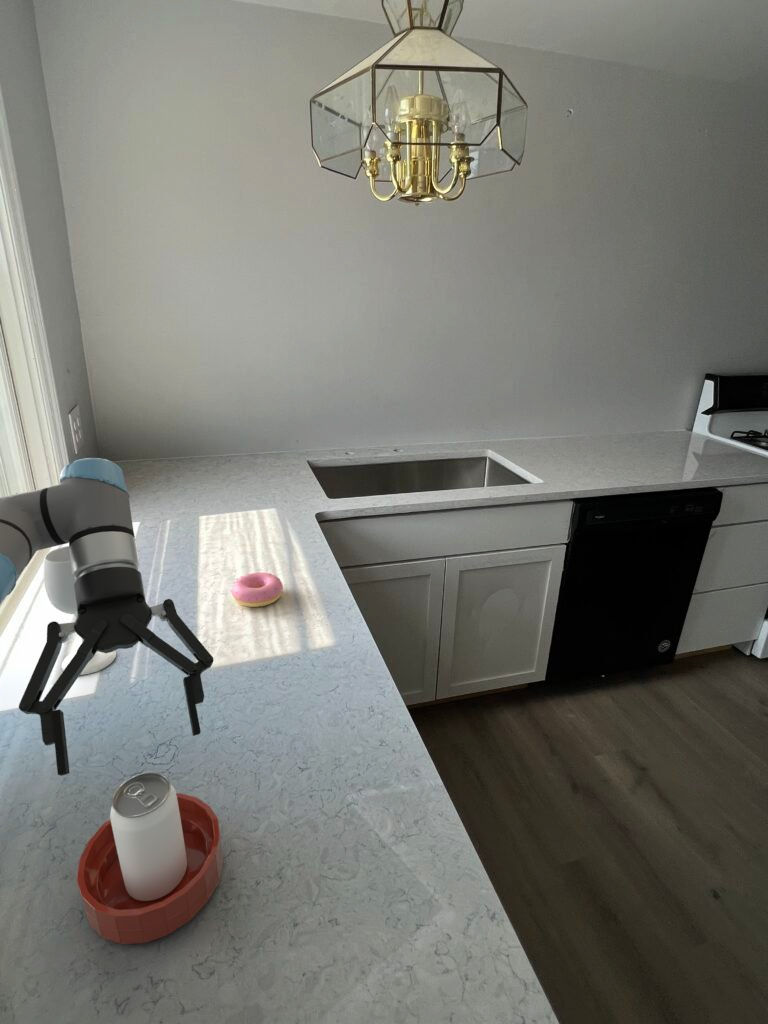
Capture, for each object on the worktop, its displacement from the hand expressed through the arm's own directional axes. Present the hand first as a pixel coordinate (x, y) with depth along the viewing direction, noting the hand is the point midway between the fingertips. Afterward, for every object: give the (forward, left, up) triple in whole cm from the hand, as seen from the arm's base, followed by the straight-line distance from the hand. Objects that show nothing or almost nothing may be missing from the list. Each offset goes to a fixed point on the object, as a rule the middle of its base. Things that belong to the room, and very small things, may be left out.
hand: (133, 753), depth 62 cm
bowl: (+6, -1, -13) cm, 14 cm away
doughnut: (-44, +37, -13) cm, 59 cm away
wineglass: (-42, +3, -13) cm, 45 cm away
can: (+6, -1, -13) cm, 14 cm away
